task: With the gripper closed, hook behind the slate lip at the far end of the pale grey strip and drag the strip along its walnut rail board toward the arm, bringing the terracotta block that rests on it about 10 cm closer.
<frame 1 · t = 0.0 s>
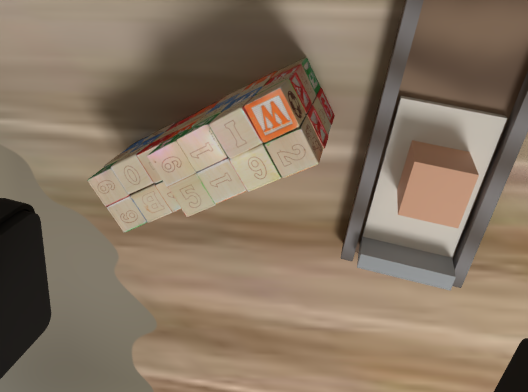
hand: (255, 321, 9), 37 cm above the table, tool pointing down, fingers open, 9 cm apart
strip: (426, 196, 43), point 3 cm above the table, slide at 0.0 cm, touching terracotta block
rail board: (440, 133, 43), on the table
stack of blocks: (228, 129, 48), on the table
terracotta block: (432, 171, 43), point 2 cm above the table, touching strip
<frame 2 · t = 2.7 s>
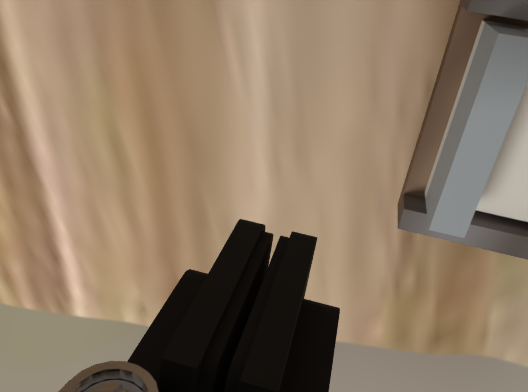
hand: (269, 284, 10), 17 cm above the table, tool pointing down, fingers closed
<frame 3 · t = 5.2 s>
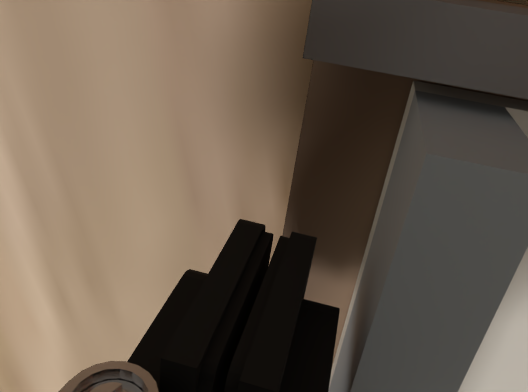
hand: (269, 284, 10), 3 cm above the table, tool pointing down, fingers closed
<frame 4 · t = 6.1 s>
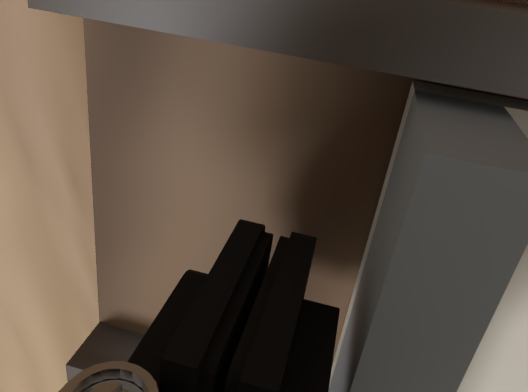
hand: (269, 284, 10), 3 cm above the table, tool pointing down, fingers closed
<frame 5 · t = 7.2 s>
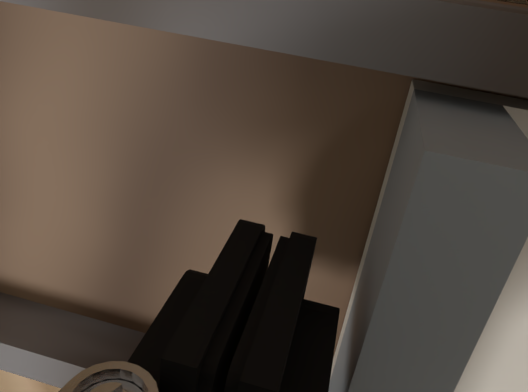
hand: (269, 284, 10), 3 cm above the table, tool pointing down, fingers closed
rail board: (453, 253, 12), on the table
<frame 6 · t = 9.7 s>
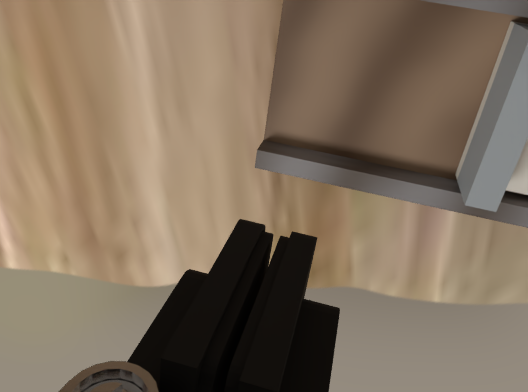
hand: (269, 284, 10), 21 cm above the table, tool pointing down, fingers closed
rail board: (516, 105, 27), on the table
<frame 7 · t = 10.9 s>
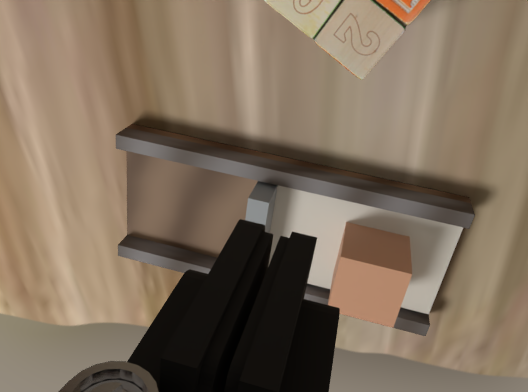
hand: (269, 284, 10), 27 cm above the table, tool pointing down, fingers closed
strip: (344, 257, 38), point 3 cm above the table, slide at 10.9 cm, touching terracotta block
rail board: (280, 221, 41), on the table
terracotta block: (370, 254, 38), point 2 cm above the table, touching strip
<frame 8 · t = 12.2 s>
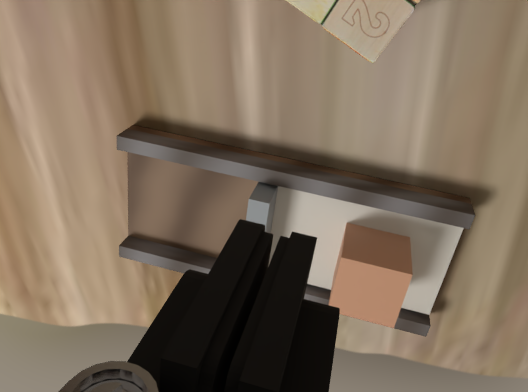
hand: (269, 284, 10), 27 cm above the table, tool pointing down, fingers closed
strip: (345, 257, 38), point 3 cm above the table, slide at 10.9 cm, touching terracotta block
rail board: (281, 221, 41), on the table
terracotta block: (370, 255, 39), point 2 cm above the table, touching strip
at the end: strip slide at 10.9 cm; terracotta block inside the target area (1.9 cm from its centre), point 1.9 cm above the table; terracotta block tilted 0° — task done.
